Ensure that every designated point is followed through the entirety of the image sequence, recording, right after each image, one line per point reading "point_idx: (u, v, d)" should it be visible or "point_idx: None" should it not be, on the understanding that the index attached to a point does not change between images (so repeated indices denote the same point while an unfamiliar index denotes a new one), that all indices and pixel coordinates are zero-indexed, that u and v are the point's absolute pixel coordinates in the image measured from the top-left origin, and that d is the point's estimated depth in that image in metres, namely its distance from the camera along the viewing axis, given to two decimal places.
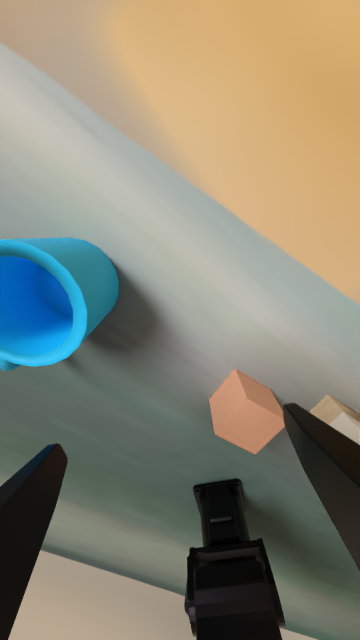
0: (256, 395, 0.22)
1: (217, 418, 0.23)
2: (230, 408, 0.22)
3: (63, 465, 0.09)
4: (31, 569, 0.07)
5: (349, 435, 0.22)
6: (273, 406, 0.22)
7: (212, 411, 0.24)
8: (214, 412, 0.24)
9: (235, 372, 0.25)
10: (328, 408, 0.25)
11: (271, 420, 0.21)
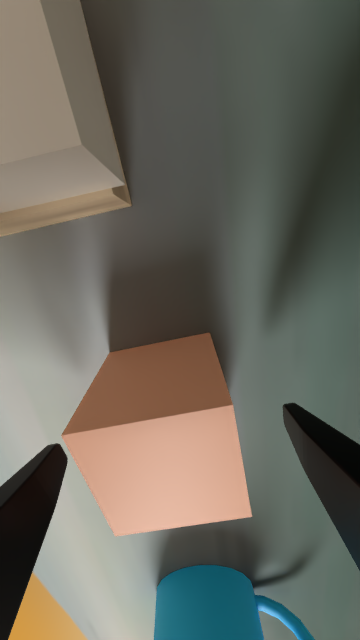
0: None
1: None
2: None
3: (63, 465, 0.09)
4: (31, 569, 0.07)
5: None
6: None
7: None
8: None
9: None
10: None
11: (103, 468, 0.07)
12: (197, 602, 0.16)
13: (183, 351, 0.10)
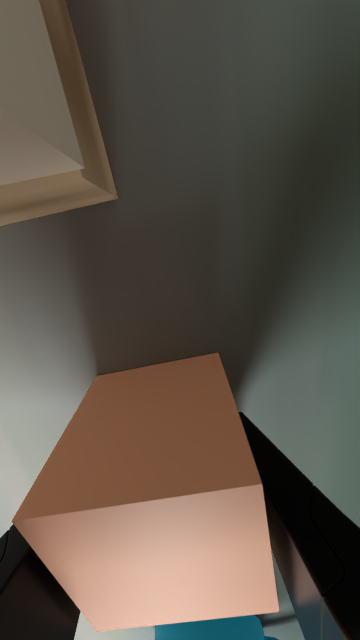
0: None
1: None
2: None
3: None
4: None
5: None
6: None
7: None
8: None
9: None
10: None
11: (75, 559, 0.05)
12: None
13: (186, 380, 0.08)
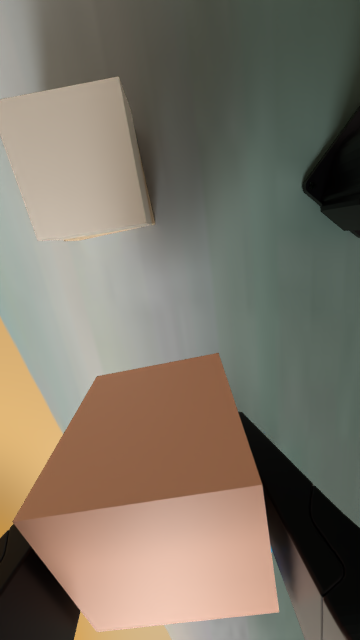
0: None
1: None
2: None
3: None
4: None
5: (64, 237, 0.13)
6: None
7: None
8: None
9: None
10: (86, 237, 0.16)
11: (75, 560, 0.05)
12: None
13: (186, 381, 0.08)
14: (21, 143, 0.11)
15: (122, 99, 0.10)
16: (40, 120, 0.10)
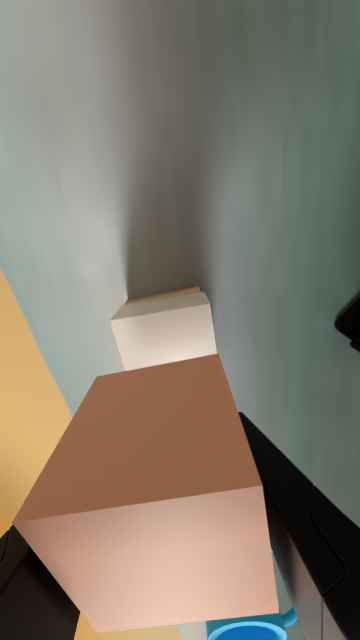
0: None
1: None
2: None
3: None
4: None
5: None
6: None
7: None
8: None
9: None
10: None
11: (75, 560, 0.05)
12: None
13: (186, 381, 0.08)
14: (130, 343, 0.14)
15: (210, 315, 0.13)
16: (147, 330, 0.14)
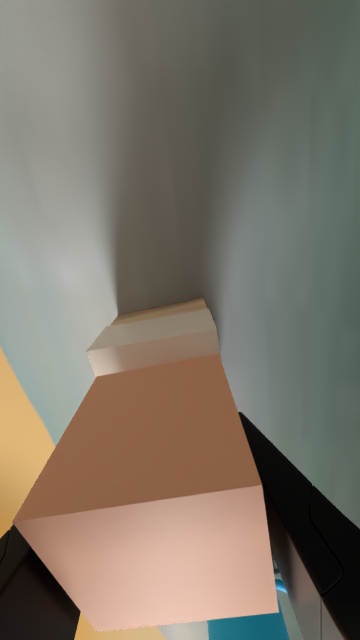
0: None
1: None
2: None
3: None
4: None
5: None
6: None
7: None
8: None
9: None
10: None
11: (75, 560, 0.05)
12: None
13: (186, 381, 0.08)
14: None
15: (218, 344, 0.10)
16: (135, 363, 0.11)
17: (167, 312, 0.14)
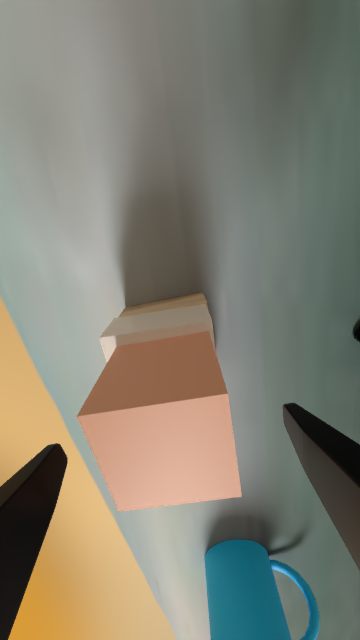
0: None
1: None
2: None
3: (63, 465, 0.09)
4: (31, 569, 0.07)
5: None
6: None
7: None
8: None
9: None
10: None
11: (112, 447, 0.08)
12: (235, 560, 0.26)
13: (184, 347, 0.11)
14: None
15: (212, 333, 0.12)
16: None
17: (170, 304, 0.16)
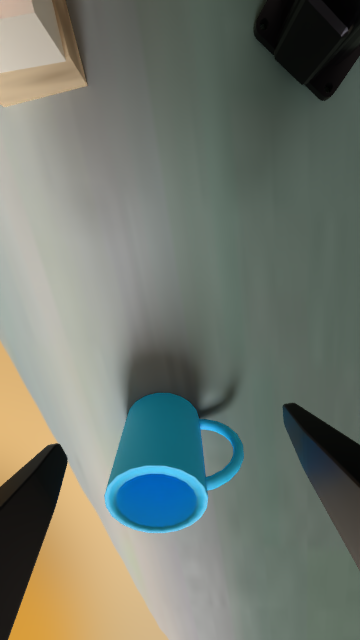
0: None
1: None
2: None
3: (63, 465, 0.09)
4: (31, 569, 0.07)
5: None
6: None
7: None
8: None
9: None
10: (4, 92, 0.14)
11: None
12: (152, 406, 0.22)
13: None
14: None
15: None
16: None
17: None
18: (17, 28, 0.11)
